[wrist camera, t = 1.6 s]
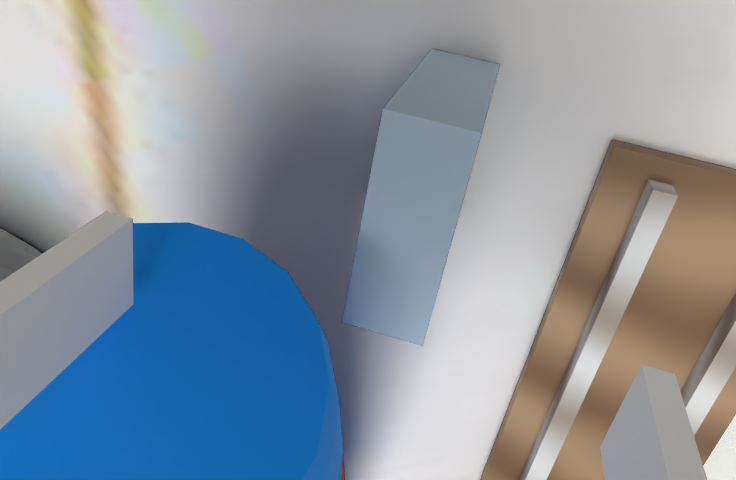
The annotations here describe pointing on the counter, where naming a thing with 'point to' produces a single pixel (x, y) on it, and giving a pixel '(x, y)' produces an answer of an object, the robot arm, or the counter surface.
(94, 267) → the robot arm
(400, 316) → the grey rectangular block
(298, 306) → the thermos
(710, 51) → the counter surface
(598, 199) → the track board
